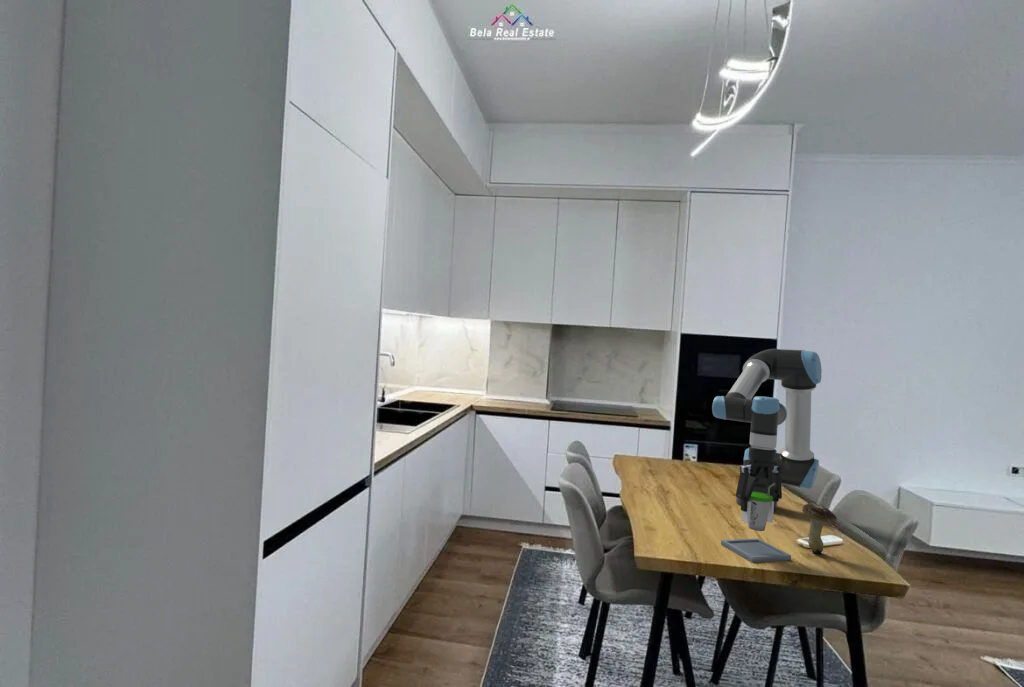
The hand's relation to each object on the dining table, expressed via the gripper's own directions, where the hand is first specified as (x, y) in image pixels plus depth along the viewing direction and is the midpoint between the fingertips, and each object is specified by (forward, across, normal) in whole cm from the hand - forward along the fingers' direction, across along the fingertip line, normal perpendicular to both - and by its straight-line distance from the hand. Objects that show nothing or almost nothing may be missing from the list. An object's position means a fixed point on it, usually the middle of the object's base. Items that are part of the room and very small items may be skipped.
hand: (757, 521), depth 172 cm
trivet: (+9, 0, 0) cm, 9 cm away
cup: (+2, 0, 0) cm, 2 cm away
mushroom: (+10, -20, +3) cm, 22 cm away
